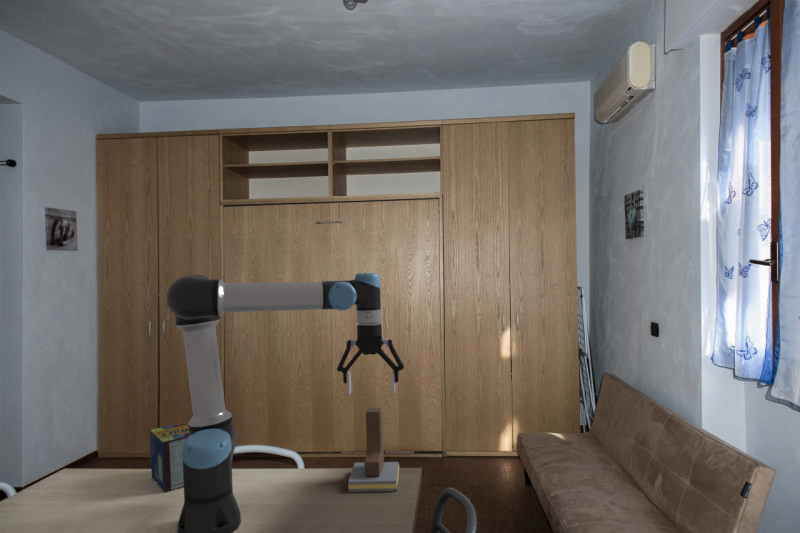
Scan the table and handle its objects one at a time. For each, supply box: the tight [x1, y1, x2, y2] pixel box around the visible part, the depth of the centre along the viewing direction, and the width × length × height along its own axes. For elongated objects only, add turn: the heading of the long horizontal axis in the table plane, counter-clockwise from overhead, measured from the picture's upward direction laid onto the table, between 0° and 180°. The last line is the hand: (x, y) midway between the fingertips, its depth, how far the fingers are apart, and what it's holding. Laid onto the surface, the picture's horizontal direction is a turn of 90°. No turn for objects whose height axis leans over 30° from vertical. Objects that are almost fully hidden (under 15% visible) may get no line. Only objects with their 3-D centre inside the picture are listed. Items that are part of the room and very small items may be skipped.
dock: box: [347, 461, 400, 493], centre depth 154 cm, size 14×14×3 cm
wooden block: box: [363, 407, 385, 477], centre depth 154 cm, size 9×4×18 cm, turn 173°
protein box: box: [149, 422, 190, 493], centre depth 160 cm, size 10×15×16 cm
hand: (371, 393), depth 154 cm, fingers open, 13 cm apart
